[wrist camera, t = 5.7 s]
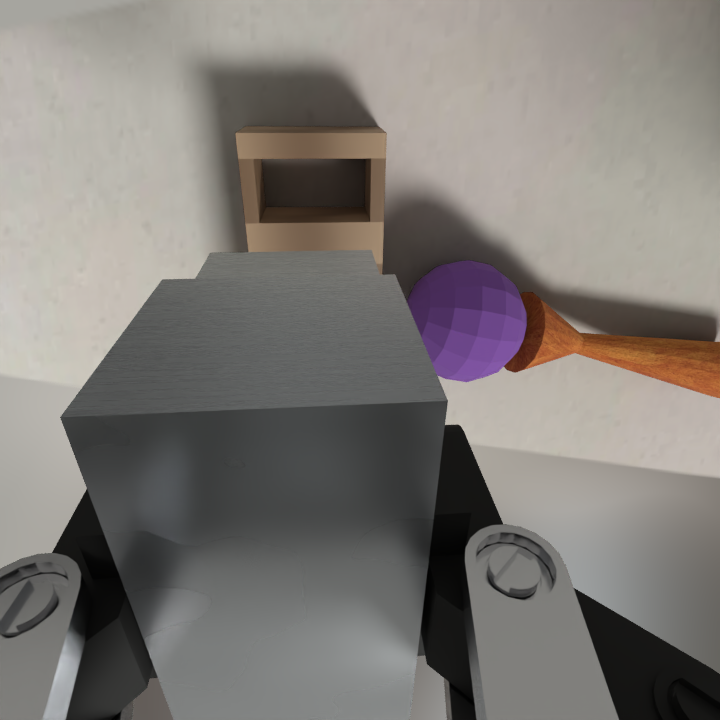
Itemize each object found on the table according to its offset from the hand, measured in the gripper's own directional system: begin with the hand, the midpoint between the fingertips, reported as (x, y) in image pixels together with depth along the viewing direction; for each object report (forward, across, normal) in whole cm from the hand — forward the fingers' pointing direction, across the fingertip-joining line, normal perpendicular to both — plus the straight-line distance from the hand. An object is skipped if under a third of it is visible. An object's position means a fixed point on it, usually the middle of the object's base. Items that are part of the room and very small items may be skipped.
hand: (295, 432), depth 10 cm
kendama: (+17, -14, +6) cm, 23 cm away
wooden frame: (+16, 0, 0) cm, 16 cm away
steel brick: (+3, 0, 0) cm, 3 cm away
